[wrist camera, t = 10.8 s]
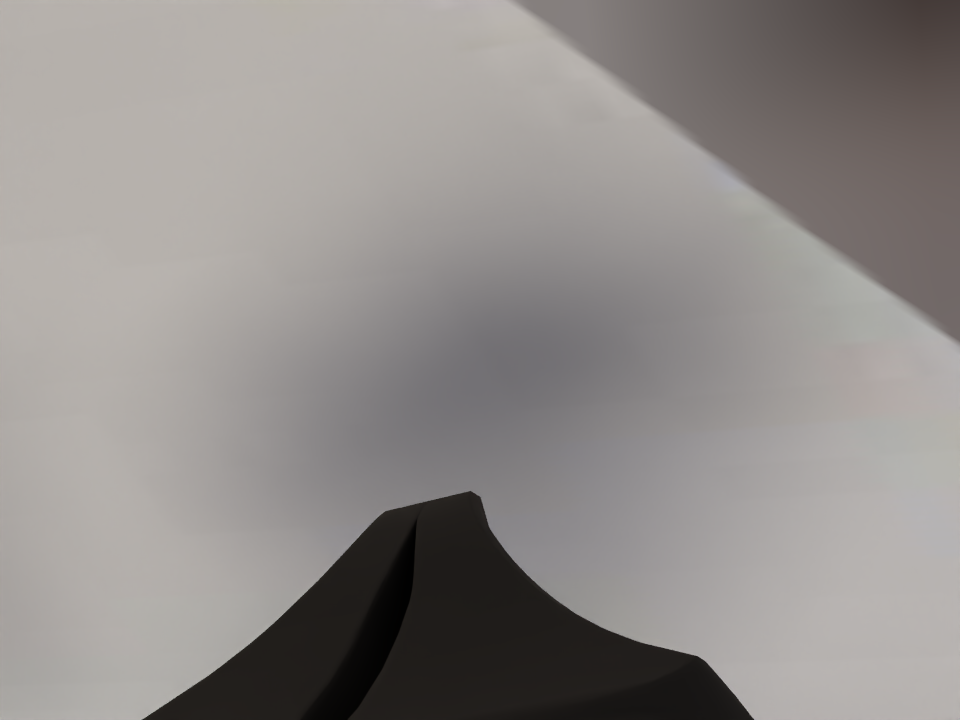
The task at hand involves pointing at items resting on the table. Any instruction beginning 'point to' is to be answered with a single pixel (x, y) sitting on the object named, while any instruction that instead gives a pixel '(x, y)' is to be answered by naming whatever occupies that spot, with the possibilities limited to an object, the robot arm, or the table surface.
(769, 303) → the table surface
